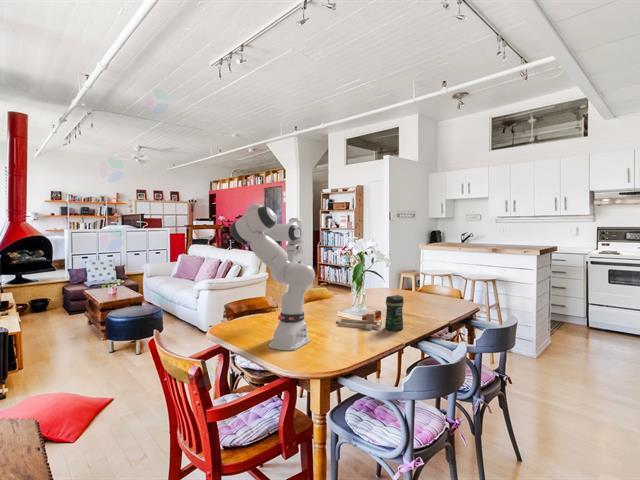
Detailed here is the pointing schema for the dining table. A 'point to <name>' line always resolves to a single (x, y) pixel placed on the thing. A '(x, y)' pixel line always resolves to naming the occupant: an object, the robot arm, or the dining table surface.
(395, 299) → the coffee jar
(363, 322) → the comb track
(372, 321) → the marker sleeve
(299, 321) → the robot arm
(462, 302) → the dining table surface
